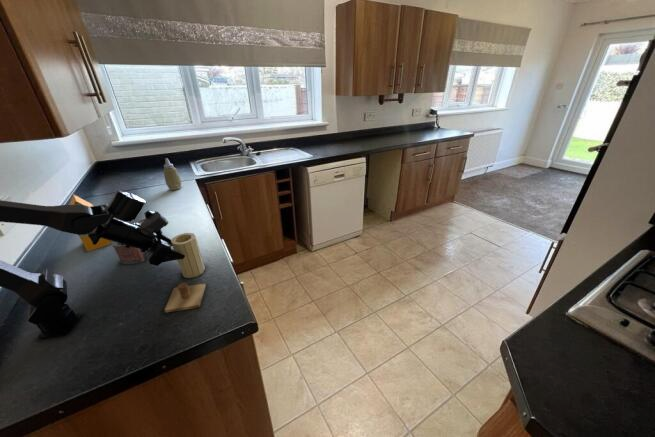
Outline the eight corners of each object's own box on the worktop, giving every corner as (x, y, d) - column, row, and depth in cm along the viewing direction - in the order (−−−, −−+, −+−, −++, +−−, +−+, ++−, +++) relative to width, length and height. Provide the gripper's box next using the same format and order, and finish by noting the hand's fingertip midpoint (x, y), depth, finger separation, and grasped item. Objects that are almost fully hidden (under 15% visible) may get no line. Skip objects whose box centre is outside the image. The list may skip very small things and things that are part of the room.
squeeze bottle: (182, 189, 156) (173, 159, 148) (167, 192, 154) (157, 161, 145) (183, 185, 163) (175, 155, 154) (168, 187, 160) (159, 157, 152)
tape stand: (165, 312, 74) (159, 299, 72) (175, 290, 82) (170, 277, 80) (199, 307, 76) (195, 294, 73) (206, 285, 83) (202, 273, 81)
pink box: (146, 257, 97) (137, 234, 93) (141, 263, 94) (131, 239, 90) (124, 258, 97) (113, 234, 92) (118, 264, 94) (106, 240, 90)
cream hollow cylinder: (180, 279, 86) (168, 245, 80) (185, 266, 92) (174, 234, 86) (202, 276, 88) (192, 242, 81) (206, 263, 93) (197, 231, 87)
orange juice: (107, 235, 112) (86, 190, 102) (111, 243, 106) (89, 197, 97) (84, 243, 107) (59, 196, 98) (86, 251, 101) (60, 203, 92)
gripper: (149, 219, 67) (204, 240, 79) (135, 198, 80) (185, 218, 91) (123, 258, 66) (183, 273, 78) (114, 230, 79) (166, 246, 91)
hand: (179, 250), depth 84 cm, fingers open, 9 cm apart
